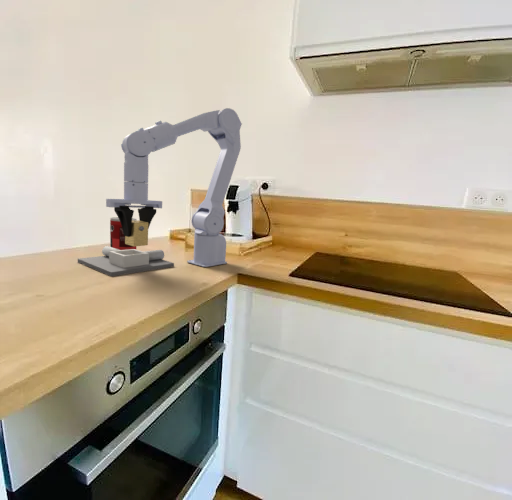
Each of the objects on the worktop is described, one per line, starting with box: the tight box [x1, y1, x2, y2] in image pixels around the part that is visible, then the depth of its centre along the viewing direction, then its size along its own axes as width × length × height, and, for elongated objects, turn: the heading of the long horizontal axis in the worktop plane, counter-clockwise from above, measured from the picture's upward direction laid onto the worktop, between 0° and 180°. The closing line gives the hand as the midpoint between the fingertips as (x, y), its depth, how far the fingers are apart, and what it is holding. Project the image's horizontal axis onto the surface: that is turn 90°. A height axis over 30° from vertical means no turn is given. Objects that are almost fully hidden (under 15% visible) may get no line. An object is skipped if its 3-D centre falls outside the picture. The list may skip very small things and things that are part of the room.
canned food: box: [109, 216, 137, 250], centre depth 102 cm, size 8×8×11 cm
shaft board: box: [77, 245, 175, 277], centre depth 87 cm, size 18×18×4 cm
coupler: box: [125, 219, 149, 247], centre depth 82 cm, size 4×5×6 cm
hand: (135, 235), depth 82 cm, fingers closed on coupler, 4 cm apart
